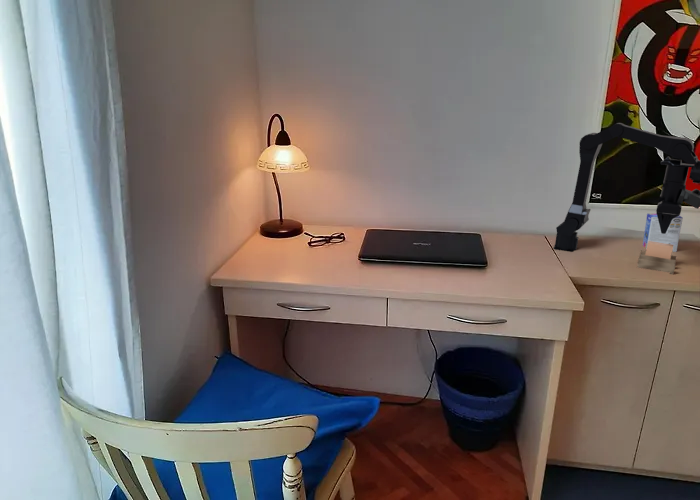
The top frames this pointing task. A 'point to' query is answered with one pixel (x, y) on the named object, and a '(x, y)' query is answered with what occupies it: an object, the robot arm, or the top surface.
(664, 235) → the ink cartridge box
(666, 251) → the terracotta block
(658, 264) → the slot rack
